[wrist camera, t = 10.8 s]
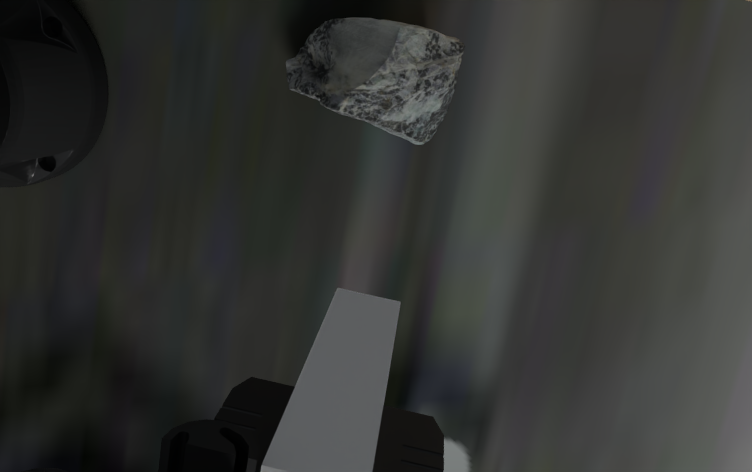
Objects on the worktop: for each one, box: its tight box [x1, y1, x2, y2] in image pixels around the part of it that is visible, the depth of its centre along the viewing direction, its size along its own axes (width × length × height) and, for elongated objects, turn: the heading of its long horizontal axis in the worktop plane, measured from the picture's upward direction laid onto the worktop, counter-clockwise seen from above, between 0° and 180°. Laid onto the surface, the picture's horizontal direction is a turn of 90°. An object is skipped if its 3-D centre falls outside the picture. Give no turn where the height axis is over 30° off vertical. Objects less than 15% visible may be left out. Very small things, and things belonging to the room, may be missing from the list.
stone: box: [286, 17, 465, 145], centre depth 42 cm, size 10×10×10 cm
